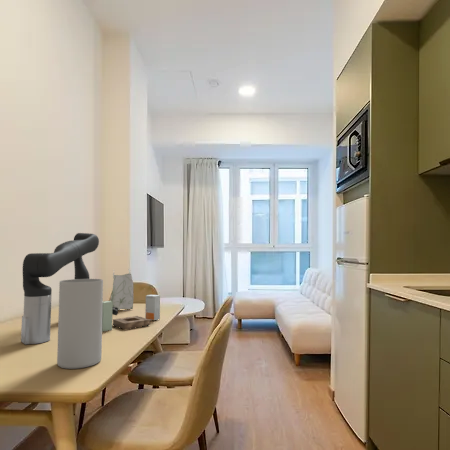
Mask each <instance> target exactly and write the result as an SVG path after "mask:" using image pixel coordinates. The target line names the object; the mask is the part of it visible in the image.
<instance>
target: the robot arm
mask: <svg viewBox="0 0 450 450" xmlns="http://www.w3.org/2000/svg"><path fill="white" fill-rule="evenodd" d="M99 239H100V238H99V237H98V236H97V234H94V233H88V232H87V233H86V232H85V233H84V232H77V233H76V234H75V235H74V236H73V240H67V241H65V242H62V243H60V244H59V245H57V246H56V247H55V248H54V250H53V252H51V253H50V252H45V253H43V252H42V253H41V252H39V253H38V252H37V253H36V252H35V253H28V254H27V255H25V257H24V259H23V262H22V289H23V292H24V293H23V296H24V297H23V315H22V316H21V332H20V333H21V334H20V342H21V343H22V344H24V345H34V344H36V345H37V344H43V343H46V342H49V341H50V340H51V326H52V325H51V320H52V287H50V286H49V285H47V284H44V283H43V282H42V281H41V280H40V278H49V277H52V276H53V275H55V274H56V273H57V272H59V271H60V270H61V269H62V268H64V267H66V266H67V265H69V264H71V263H73V265H74V279H90V273H89V270H88V268H87V267H86V265H85V262H84V259H83V256H85V255H87V254H90V253H93V252H95V251H96V250H97V249H98V247H99V244H100V240H99ZM118 314H119V311H118V308H117V307H112V316H113V315H115V316H117V315H118Z"/></svg>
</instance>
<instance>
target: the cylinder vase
mask: <svg viewBox="0 0 450 450" xmlns="http://www.w3.org/2000/svg"><path fill="white" fill-rule="evenodd" d="M58 284H59V285H58V286H59V290H58V317H57V319H58V320H57V321H58V323H57V324H58V325H57V328H58V329H57V352H56V355H57V357H56V363H57V366H58V367H59V368H62V369H65V370H66V369H67V370H76V369H84V368H89V367H92V366H95V365H97V364H99V363H100V361H101V360H102V352H103V350H102V348H103V344H102V342H103V341H102V339H103V331H102V307H103V301H104V300H103V297H104V293H103V292H104V279H101V278H89V279H63V280H59V283H58Z"/></svg>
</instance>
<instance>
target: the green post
mask: <svg viewBox="0 0 450 450" xmlns="http://www.w3.org/2000/svg"><path fill="white" fill-rule="evenodd" d="M112 307H113V302H111V301H110V300H106V301H105V300H103V307H102V332H108V330H109V331H113V314H112Z"/></svg>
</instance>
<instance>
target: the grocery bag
mask: <svg viewBox="0 0 450 450" xmlns="http://www.w3.org/2000/svg"><path fill="white" fill-rule="evenodd" d="M112 271H113V273H112V279H113V281H112V288H111V289H112V290H111V294H110V298H109V299H110V300H109V301H111V302H113V307H117V308H118V310H120V309H134V281H133V280H134V279H133V277H132V273H131V270H130V268H129V267H128V272H129V273H125V274H121V275H120V274H119V275H118V274H115V270H114V269H113V270H112Z"/></svg>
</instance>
